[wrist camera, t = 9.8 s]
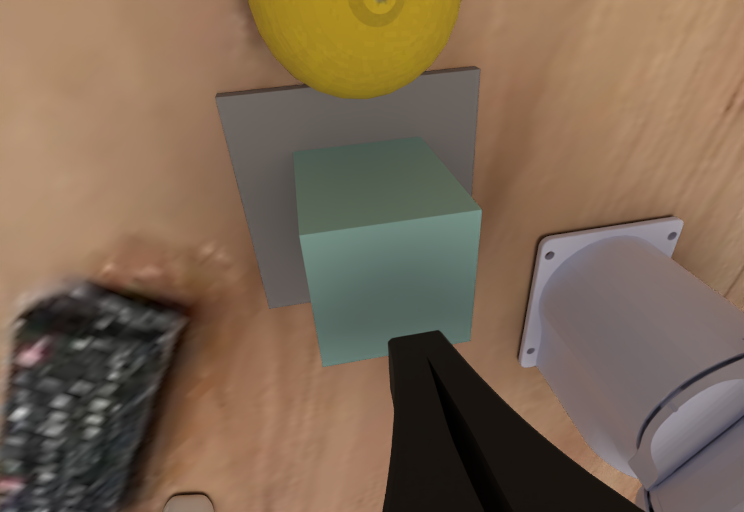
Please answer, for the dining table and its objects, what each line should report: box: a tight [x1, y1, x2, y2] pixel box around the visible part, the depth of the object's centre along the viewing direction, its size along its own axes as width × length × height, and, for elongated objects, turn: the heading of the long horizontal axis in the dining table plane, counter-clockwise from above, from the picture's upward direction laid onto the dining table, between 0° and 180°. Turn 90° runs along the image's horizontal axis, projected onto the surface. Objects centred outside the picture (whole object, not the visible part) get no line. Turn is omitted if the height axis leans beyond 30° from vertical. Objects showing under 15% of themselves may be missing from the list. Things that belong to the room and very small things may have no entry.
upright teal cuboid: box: [293, 137, 482, 367], centre depth 16 cm, size 5×5×7 cm
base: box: [215, 66, 480, 309], centre depth 19 cm, size 10×10×1 cm
